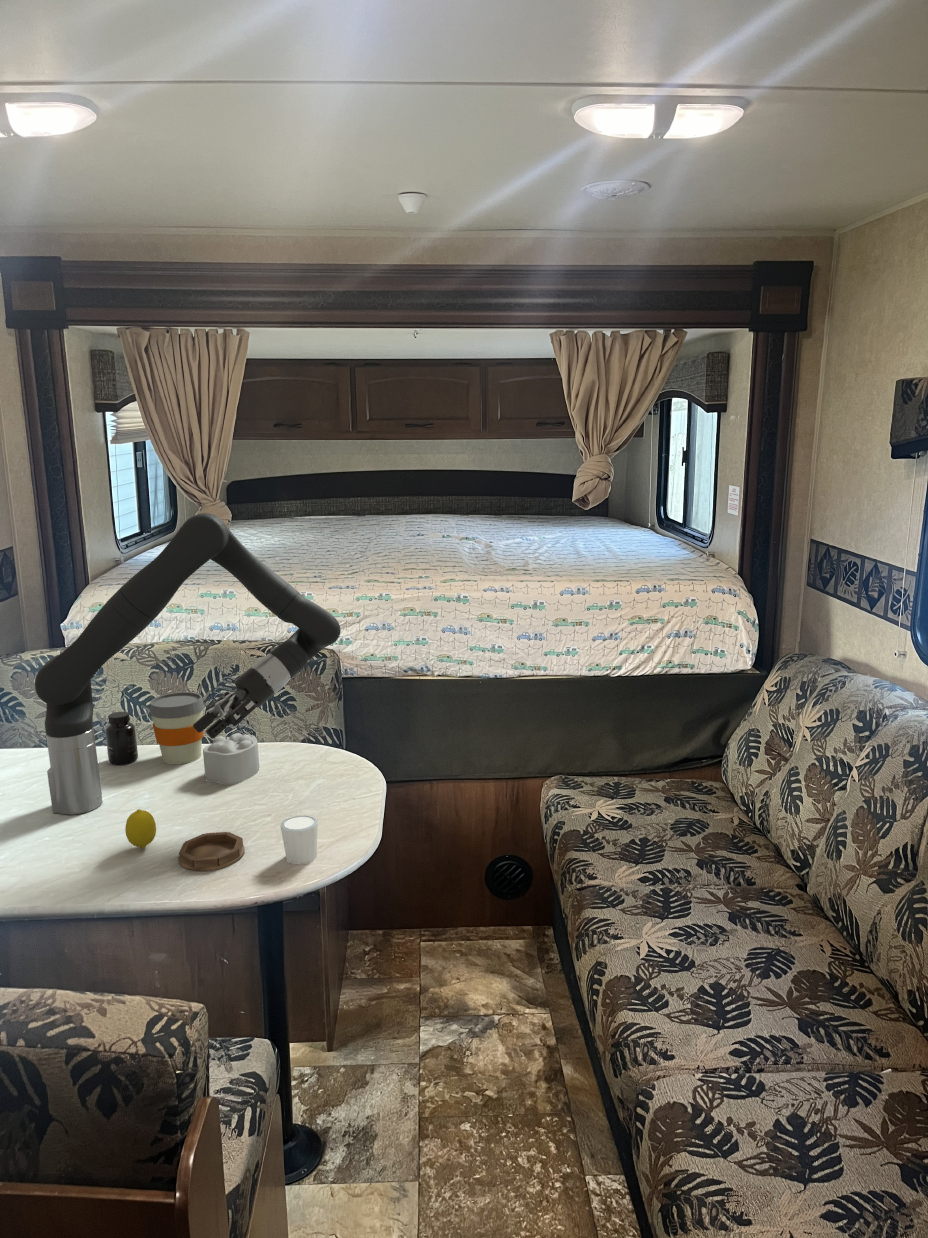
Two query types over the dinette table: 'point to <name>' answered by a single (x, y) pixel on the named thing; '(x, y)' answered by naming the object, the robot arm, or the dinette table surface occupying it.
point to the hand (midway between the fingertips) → (202, 732)
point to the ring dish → (211, 851)
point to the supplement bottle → (121, 739)
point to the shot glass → (300, 838)
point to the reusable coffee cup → (177, 726)
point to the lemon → (140, 828)
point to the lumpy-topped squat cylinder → (231, 759)
